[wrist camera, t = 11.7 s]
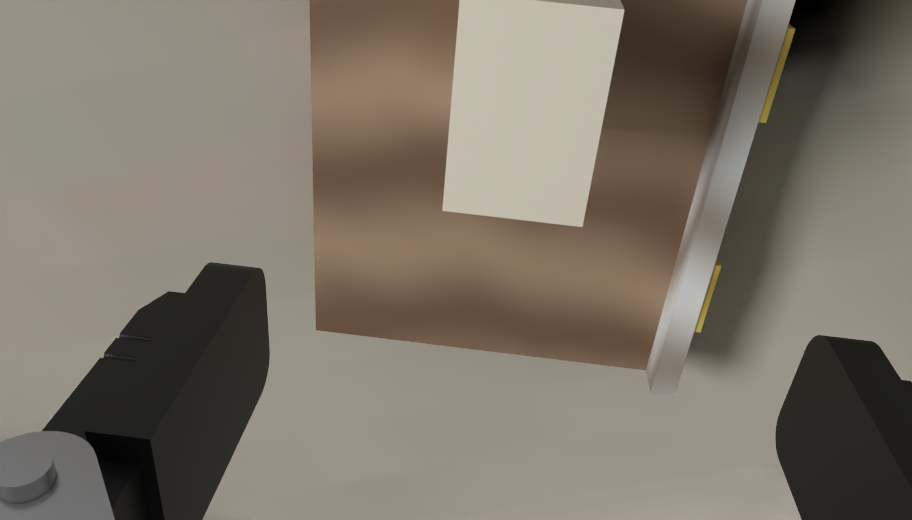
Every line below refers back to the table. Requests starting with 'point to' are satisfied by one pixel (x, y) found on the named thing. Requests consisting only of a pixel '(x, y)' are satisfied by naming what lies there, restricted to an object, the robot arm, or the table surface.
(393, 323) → the walnut shelf
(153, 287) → the table surface
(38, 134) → the table surface
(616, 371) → the table surface
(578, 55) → the cream carton
